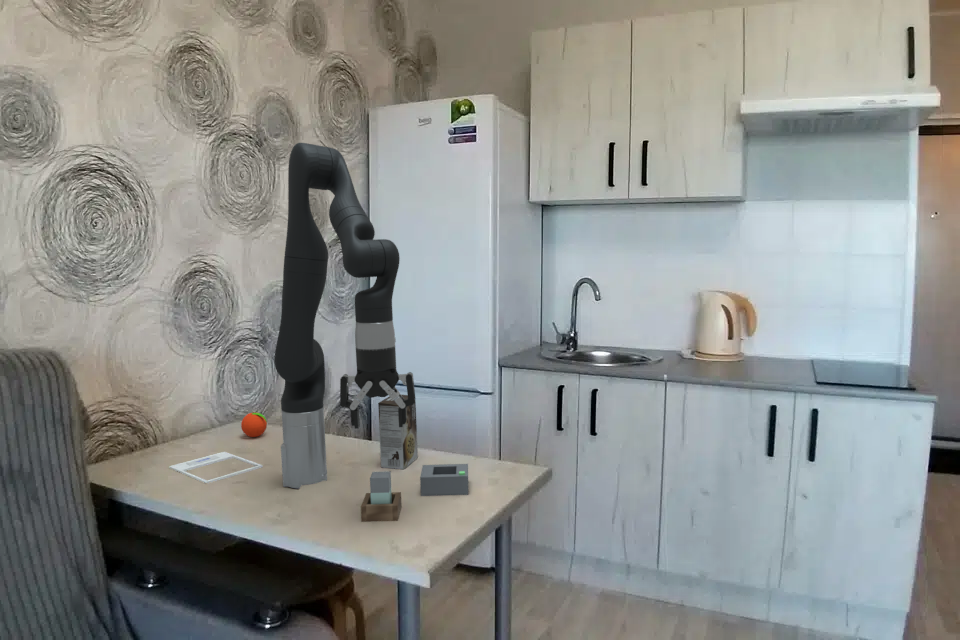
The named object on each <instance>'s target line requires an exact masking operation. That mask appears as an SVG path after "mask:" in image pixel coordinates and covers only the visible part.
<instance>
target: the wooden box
mask: <svg viewBox="0 0 960 640" xmlns="http://www.w3.org/2000/svg"><path fill="white" fill-rule="evenodd" d="M391 493H392V504H371V493H370V492H366V493H365V495H364V497H363V500H362V503H361V506H360V516H361V517H360V518H361V521H360V522H361V523H362V522H363V523H365V522H367V523H368V522H371V523H372V522H398V521H399V519H400V518H399V517H400V515H401V510H402V508H403V507H402V492H401V491H400V492H399V491H396V492H392V491H391Z"/></svg>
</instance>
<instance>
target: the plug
mask: <svg viewBox="0 0 960 640" xmlns="http://www.w3.org/2000/svg"><path fill="white" fill-rule="evenodd" d="M369 484H370V485H369V487H370V488H369V490H370V492H369V493H371V504H392V493H391V492H392V472H391V471H390V470H389V471H386V470H384V471H372V472H371V474H370V477H369Z"/></svg>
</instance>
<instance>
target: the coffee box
mask: <svg viewBox="0 0 960 640" xmlns="http://www.w3.org/2000/svg"><path fill="white" fill-rule="evenodd" d="M401 395H402V397H403V398H404V399H407V398H408V394H401ZM398 408H399V406H398V405H397V403H396V402H395V401H394V400H392V398H391V397H390V396H389V395H388V396H387V397H385V398H384V399H383V400H381V401H378V425H379V426H378V427H379V428H378V429H379V448H380V449H379V451H380V452H379V453H380V454H379V455H380V467H381V468H382V469H394V468H395V469H396V470H397V469H398V470H405V469H407V467H409V466H410V465H411V464H412V463H413V462H415V461H416V459H418V457H419V456H418V451H419V450H418V431H417V429H418V428H417V427H418V426H417V407H416V401H415V403H414V404H413V405H409V406H407V407H406V414H407V420H406V423H405V424H403V427H399V416H398Z"/></svg>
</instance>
